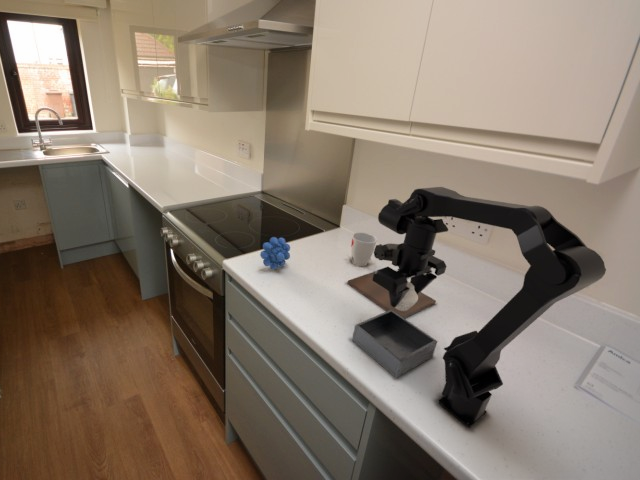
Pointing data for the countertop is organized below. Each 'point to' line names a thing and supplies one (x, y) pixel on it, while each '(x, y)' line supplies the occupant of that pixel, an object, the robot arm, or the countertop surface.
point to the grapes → (275, 252)
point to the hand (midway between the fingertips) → (401, 302)
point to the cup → (362, 248)
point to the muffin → (408, 299)
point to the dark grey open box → (394, 342)
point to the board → (387, 295)
